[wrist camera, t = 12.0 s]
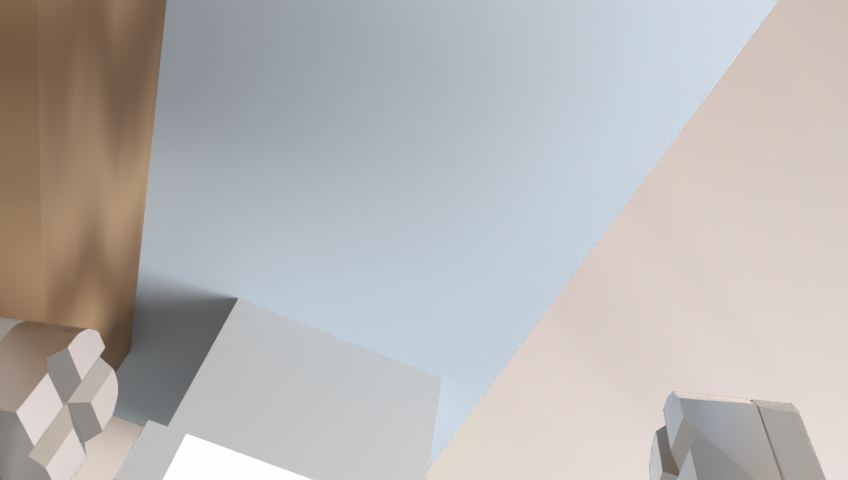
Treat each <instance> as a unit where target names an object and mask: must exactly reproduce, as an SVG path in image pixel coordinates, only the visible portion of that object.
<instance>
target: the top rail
mask: <svg viewBox="0 0 848 480" xmlns="http://www.w3.org/2000/svg"><path fill="white" fill-rule="evenodd" d="M166 2H167V0H0V317H3V318H10V319H18V320H29V321H36V322H44V323H51V324H58V325H66V326H73V327H80V328H88V329H92V330H95V331H98V332H99V334H100V337H101V339H102V341H103V343H104V346H105V349H104V350H103V352H102V354H101V355H100V358H101V359H102V360H104V361H105V362H106V363H107V364H108V365H109V366H110V367H112V368H113V369H114V372H115V373H116V371H117V370H118V368H119V367H120V365H121V364H122V363H123V361H124V360H125V358H126V357H127V355H128V354H129V352H130V348H131V338H132V329H133V319H134V310H135V300H136V290H137V281H138V271H139V261H140V252H141V242H142V233H143V223H144V213H145V204H146V194H147V185H148V175H149V165H150V156H151V146H152V137H153V127H154V117H155V108H156V98H157V88H158V79H159V69H160V60H161V50H162V40H163V31H164V21H165V12H166Z"/></svg>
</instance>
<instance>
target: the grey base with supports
mask: <svg viewBox="0 0 848 480" xmlns="http://www.w3.org/2000/svg"><path fill="white" fill-rule="evenodd" d="M777 2H778V0H167V2H166V12H165V21H164V31H163V40H162V50H161V60H160V69H159V79H158V88H157V98H156V108H155V117H154V127H153V137H152V146H151V156H150V165H149V175H148V185H147V194H146V204H145V213H144V223H143V233H142V242H141V252H140V261H139V271H138V281H137V290H136V300H135V310H134V319H133V329H132V338H131V348H130V352H129V354H128V355H127V357H126V358H125V360H124V361H123V363H122V364H121V365H120V367H119V368H118V370H117V371H116V373H115V375H116V378H117V382H118V397H117V401H116V405H115V408H114V412H113V415H114V416H116V417H119V418H122V419H124V420H127V421H130V422H133V423H135V424H138V425H141V426H144V429H143V430H142V432H141V434H140V435H139V437H138V439H137V441H136V442H135V444H134V446H133V447H132V449H131V451H130V452H129V454H128V456H127V458H126V459H125V461H124V463H123V464H122V466H121V468H120V470H119V471H118V473H117V475H116V476H115V478H114V480H426V478H427V472H428V469H429V468H430V466H431V465H432V464H433V462H434V461H435V460H436V458H437V457H438V456H439V454H440V453H441V452H442V450H443V449H444V448H445V446H446V445H447V444H448V442H449V441H450V440H451V438H452V437H453V436H454V434H455V433H456V432H457V430H458V429H459V428H460V426H461V425H462V423H463V422H464V421H465V419H466V418H467V417H468V415H469V414H470V413H471V411H472V410H473V409H474V407H475V406H476V405H477V403H478V402H479V401H480V399H481V398H482V397H483V395H484V394H485V393H486V391H487V390H488V389H489V387H490V386H491V385H492V383H493V382H494V381H495V379H496V378H497V377H498V375H499V374H500V373H501V371H502V370H503V369H504V367H505V366H506V365H507V363H508V362H509V361H510V359H511V358H512V357H513V355H514V354H515V352H516V351H517V350H518V348H519V347H520V346H521V344H522V343H523V342H524V340H525V339H526V338H527V336H528V335H529V334H530V332H531V331H532V330H533V328H534V327H535V326H536V324H537V323H538V322H539V320H540V319H541V318H542V316H543V315H544V314H545V312H546V311H547V310H548V308H549V307H550V306H551V304H552V303H553V302H554V300H555V299H556V298H557V296H558V295H559V294H560V292H561V291H562V290H563V288H564V287H565V286H566V284H567V283H568V282H569V280H570V279H571V277H572V276H573V275H574V273H575V272H576V271H577V269H578V268H579V267H580V265H581V264H582V263H583V261H584V260H585V259H586V257H587V256H588V255H589V253H590V252H591V251H592V249H593V248H594V247H595V245H596V244H597V243H598V241H599V240H600V239H601V237H602V236H603V235H604V233H605V232H606V231H607V229H608V228H609V227H610V225H611V224H612V223H613V221H614V220H615V219H616V217H617V216H618V215H619V213H620V212H621V211H622V209H623V208H624V207H625V205H626V204H627V202H628V201H629V200H630V198H631V197H632V196H633V194H634V193H635V192H636V190H637V189H638V188H639V186H640V185H641V184H642V182H643V181H644V180H645V178H646V177H647V176H648V174H649V173H650V172H651V170H652V169H653V168H654V166H655V165H656V164H657V162H658V161H659V160H660V158H661V157H662V156H663V154H664V153H665V152H666V150H667V149H668V148H669V146H670V145H671V144H672V142H673V141H674V140H675V138H676V137H677V136H678V134H679V133H680V131H681V130H682V129H683V127H684V126H685V125H686V123H687V122H688V121H689V119H690V118H691V117H692V115H693V114H694V113H695V111H696V110H697V109H698V107H699V106H700V105H701V103H702V102H703V101H704V99H705V98H706V97H707V95H708V94H709V93H710V91H711V90H712V89H713V87H714V86H715V85H716V83H717V82H718V81H719V79H720V78H721V77H722V75H723V74H724V73H725V71H726V70H727V69H728V67H729V66H730V65H731V63H732V62H733V61H734V59H735V58H736V56H737V55H738V54H739V52H740V51H741V50H742V48H743V47H744V46H745V44H746V43H747V42H748V40H749V39H750V38H751V36H752V35H753V34H754V32H755V31H756V30H757V28H758V27H759V26H760V24H761V23H762V22H763V20H764V19H765V18H766V16H767V15H768V14H769V12H770V11H771V10H772V8H773V7H774V6H775V4H776V3H777Z"/></svg>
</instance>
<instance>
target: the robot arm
mask: <svg viewBox="0 0 848 480" xmlns="http://www.w3.org/2000/svg"><path fill="white" fill-rule="evenodd" d="M104 349H105V346H104V343H103V341H102V339H101V337H100V334H99V332H98V331H95V330H92V329H88V328H80V327H73V326H66V325H58V324H51V323H44V322H36V321H29V320H18V319H10V318H3V317H0V480H72V478H73V477H74V475H75V474H76V472H77V471H78V469H79V467H80V466H81V464H82V463H83V461H84V460H85V458H86V450H85V442H86V441H88V440H90V439H91V438H93V437H94V436H96V435H97V434H99V433H101V432H102V431H103V430H104V428H105V427H106V425H107V423H108V422H109V420H110V418H111V417H112V415H113V412H114V408H115V405H116V401H117V397H118V382H117V378H116V375H115V372H114V369H113V368H112V367H110V366H109V365H108V364H107V363H106V362H105V361H104V360H102V359H101V358H100V355H101V354H102V352H103V350H104ZM663 411H664V417H665V422H666V426H664V427H662V428H661V429H659V430H657V431H656V433H655V436H654V440H653V443H652V447H651V455H650V465H649V471H650V480H827V479H826V477H825V474H824V472H823V469H822V467H821V464H820V462H819V460H818V457H817V455H816V452H815V450H814V447H813V445H812V442H811V440H810V437H809V435H808V433H807V430H806V428H805V425H804V423H803V420H802V418H801V415H800V413H799V411H798V409H797V408H796V407H795V406H794V405H793V404H790V403H780V402H771V401H761V400H748V399H744V398H734V397H724V396H714V395H703V394H693V393H683V392H672V393H671V394H670V395H669V396H668V398H667V401H666V404H665V406H664V409H663Z"/></svg>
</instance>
